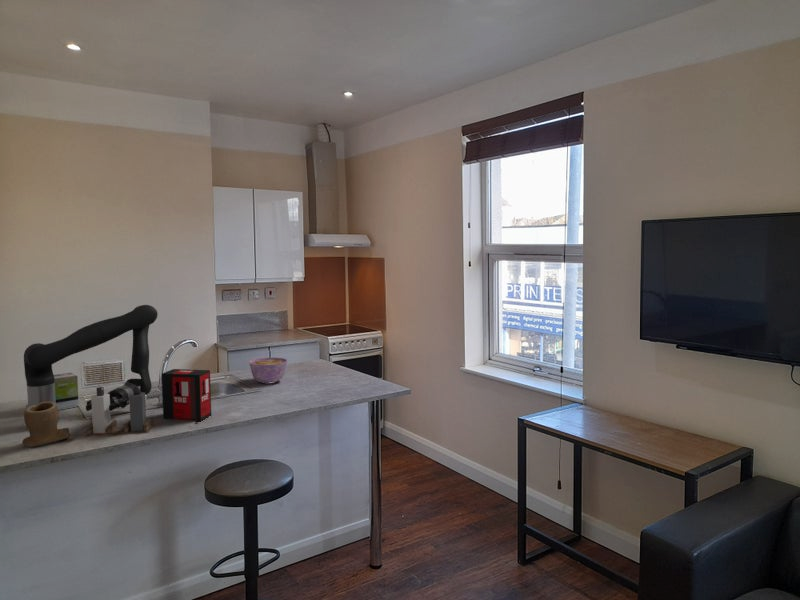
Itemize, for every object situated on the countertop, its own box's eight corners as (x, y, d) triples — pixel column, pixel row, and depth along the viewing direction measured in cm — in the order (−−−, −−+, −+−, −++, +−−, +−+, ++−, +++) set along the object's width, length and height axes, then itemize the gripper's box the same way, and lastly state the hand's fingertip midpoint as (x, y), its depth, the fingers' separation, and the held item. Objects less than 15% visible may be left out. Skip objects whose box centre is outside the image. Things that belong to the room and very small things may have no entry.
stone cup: (25, 452, 188) (23, 410, 186) (20, 443, 196) (17, 403, 195) (75, 442, 198) (73, 402, 197) (68, 434, 207) (65, 395, 205)
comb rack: (84, 439, 201) (84, 429, 200) (94, 430, 210) (93, 420, 210) (148, 435, 205) (147, 425, 205) (154, 427, 215) (154, 417, 214)
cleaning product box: (211, 416, 229) (209, 370, 227) (200, 422, 220) (199, 375, 218) (175, 414, 231) (173, 369, 229) (163, 421, 222) (161, 373, 221)
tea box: (40, 414, 231) (38, 380, 230) (34, 409, 238) (32, 377, 237) (79, 407, 242) (77, 374, 241) (72, 402, 249) (70, 371, 248)
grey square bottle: (130, 431, 206) (128, 388, 205) (134, 427, 211) (132, 385, 209) (143, 431, 207) (141, 387, 206) (146, 427, 212) (144, 384, 210)
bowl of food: (241, 383, 286) (241, 361, 285) (270, 376, 302) (270, 355, 301) (267, 388, 275) (266, 366, 274) (295, 381, 291) (295, 360, 290)
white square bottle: (93, 433, 204) (90, 389, 202) (99, 429, 208) (97, 386, 207) (105, 433, 204) (102, 389, 203) (111, 429, 209) (109, 386, 207)
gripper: (101, 387, 219) (79, 398, 203) (136, 387, 220) (117, 398, 203) (102, 405, 220) (80, 418, 204) (137, 405, 220) (118, 417, 204)
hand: (98, 408), depth 204 cm, fingers open, 8 cm apart
